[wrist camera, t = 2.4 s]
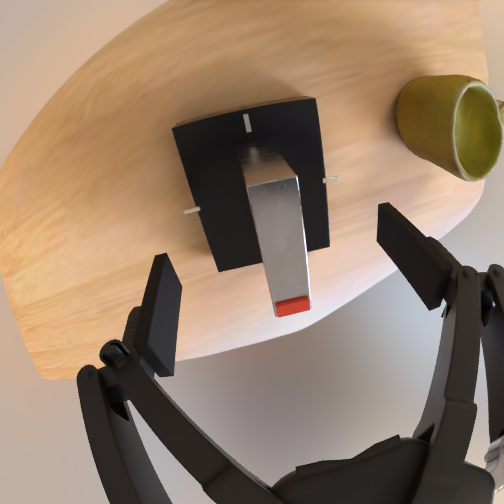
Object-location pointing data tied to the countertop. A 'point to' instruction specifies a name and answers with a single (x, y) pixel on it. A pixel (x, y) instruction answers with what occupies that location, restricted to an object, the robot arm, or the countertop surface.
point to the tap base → (231, 178)
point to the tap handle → (277, 224)
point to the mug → (452, 124)
